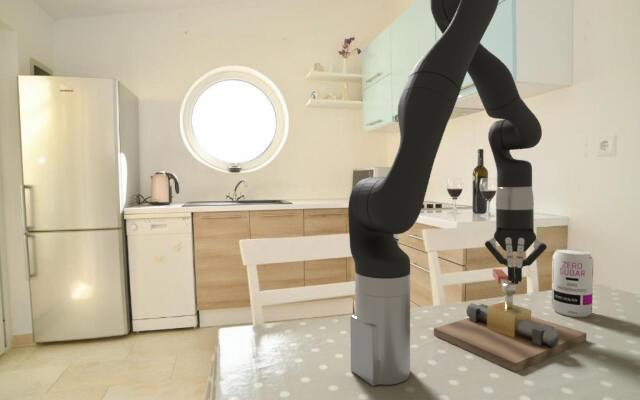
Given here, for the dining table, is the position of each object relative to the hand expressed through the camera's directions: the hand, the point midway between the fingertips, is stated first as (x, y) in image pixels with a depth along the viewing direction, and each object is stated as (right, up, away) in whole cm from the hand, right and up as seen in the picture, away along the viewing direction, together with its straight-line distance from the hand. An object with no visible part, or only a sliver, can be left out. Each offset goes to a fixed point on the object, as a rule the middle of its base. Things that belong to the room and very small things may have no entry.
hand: (514, 283), depth 85 cm
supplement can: (+17, -9, +7) cm, 21 cm away
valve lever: (-4, 0, -2) cm, 5 cm away
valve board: (-5, -10, -8) cm, 14 cm away
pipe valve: (-5, -10, -8) cm, 14 cm away
